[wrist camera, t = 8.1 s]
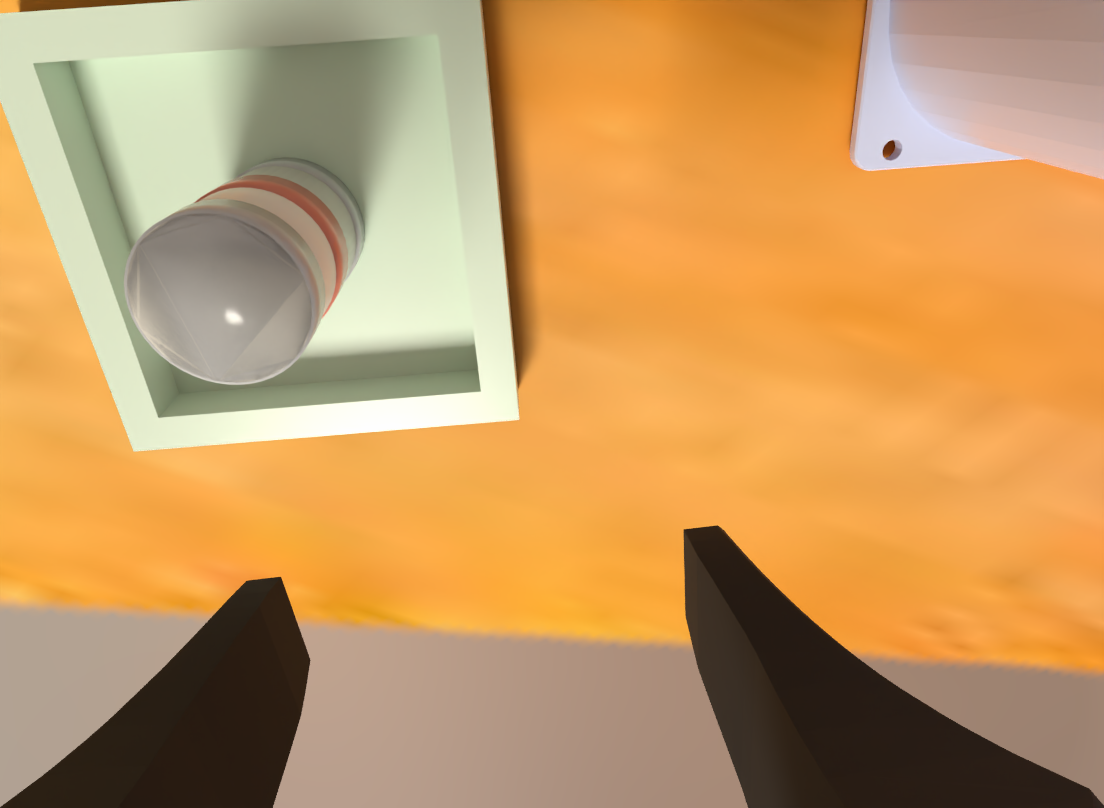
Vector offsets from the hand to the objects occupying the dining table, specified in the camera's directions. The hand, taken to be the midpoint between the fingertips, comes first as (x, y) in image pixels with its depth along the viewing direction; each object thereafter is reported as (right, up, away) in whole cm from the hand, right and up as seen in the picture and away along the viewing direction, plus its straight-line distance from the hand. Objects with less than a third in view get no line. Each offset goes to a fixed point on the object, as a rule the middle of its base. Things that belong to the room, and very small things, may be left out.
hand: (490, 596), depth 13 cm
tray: (-6, +8, +7) cm, 12 cm away
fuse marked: (-6, +8, +7) cm, 12 cm away
